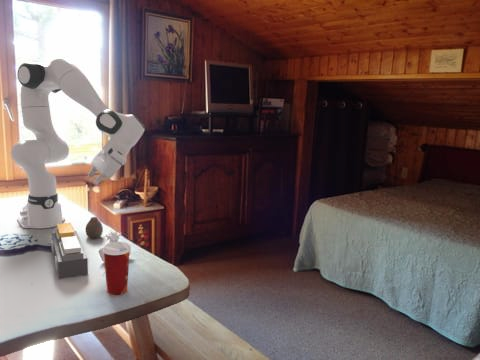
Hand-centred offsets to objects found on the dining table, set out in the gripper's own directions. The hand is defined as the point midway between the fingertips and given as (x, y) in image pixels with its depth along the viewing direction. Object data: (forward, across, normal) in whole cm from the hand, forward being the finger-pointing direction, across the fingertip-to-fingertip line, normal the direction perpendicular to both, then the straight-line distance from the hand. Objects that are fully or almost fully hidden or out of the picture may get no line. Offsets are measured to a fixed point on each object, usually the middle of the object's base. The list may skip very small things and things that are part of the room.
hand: (91, 180), depth 155 cm
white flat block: (+20, +20, +2) cm, 29 cm away
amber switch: (+21, +3, +3) cm, 22 cm away
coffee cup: (+20, +42, +14) cm, 49 cm away
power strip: (+27, +12, +8) cm, 31 cm away
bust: (+18, +17, +20) cm, 32 cm away
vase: (+21, -9, +19) cm, 30 cm away
